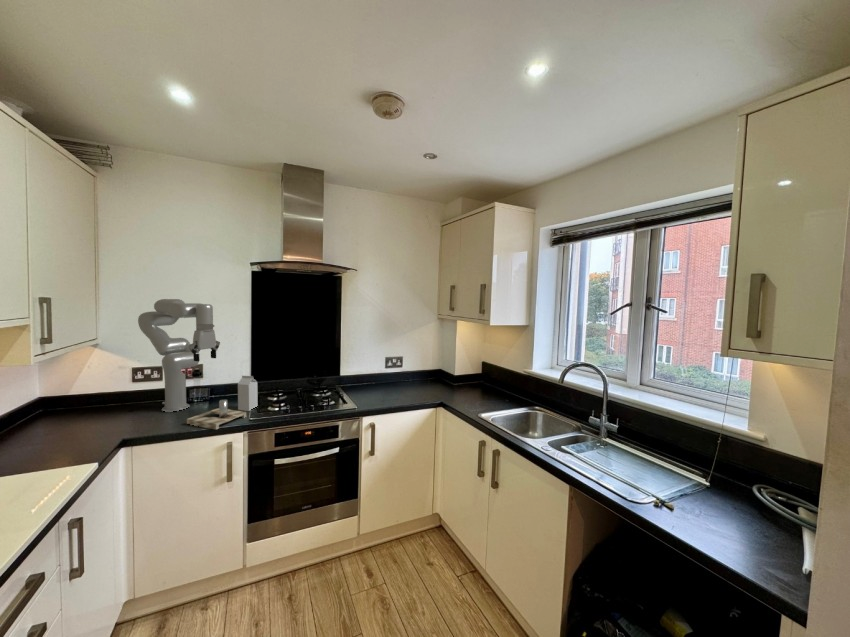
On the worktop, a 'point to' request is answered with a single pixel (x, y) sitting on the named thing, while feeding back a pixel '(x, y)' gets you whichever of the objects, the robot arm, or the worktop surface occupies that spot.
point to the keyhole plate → (214, 419)
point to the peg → (223, 409)
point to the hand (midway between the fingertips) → (205, 359)
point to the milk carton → (247, 393)
